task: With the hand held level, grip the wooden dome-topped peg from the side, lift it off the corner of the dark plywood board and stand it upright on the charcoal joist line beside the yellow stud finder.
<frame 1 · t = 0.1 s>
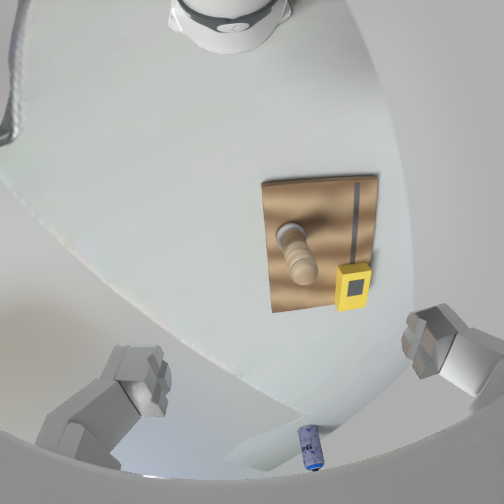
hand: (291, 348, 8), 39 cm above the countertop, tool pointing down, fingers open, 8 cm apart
aerosol can: (307, 428, 91), on the countertop
stud finder: (349, 282, 54), resting on plywood board
plywood board: (320, 246, 51), on the countertop
wooden dome-topped peg: (289, 235, 48), point 2 cm above the countertop, touching plywood board
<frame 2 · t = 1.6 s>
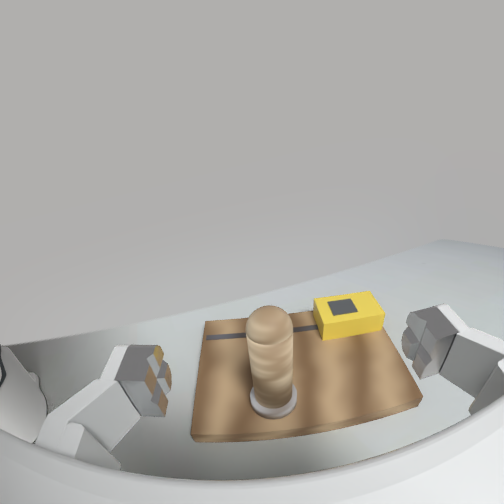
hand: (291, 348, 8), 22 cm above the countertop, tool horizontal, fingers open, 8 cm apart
stud finder: (346, 322, 39), resting on plywood board
plywood board: (300, 370, 34), on the countertop
wooden dome-topped peg: (273, 401, 28), point 2 cm above the countertop, touching plywood board
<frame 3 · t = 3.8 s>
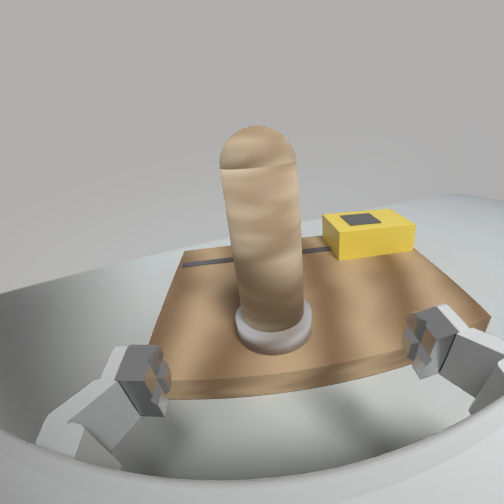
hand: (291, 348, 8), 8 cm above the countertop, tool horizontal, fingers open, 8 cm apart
stud finder: (367, 244, 30), resting on plywood board
plywood board: (312, 299, 25), on the countertop
wooden dome-topped peg: (274, 329, 19), point 2 cm above the countertop, touching plywood board
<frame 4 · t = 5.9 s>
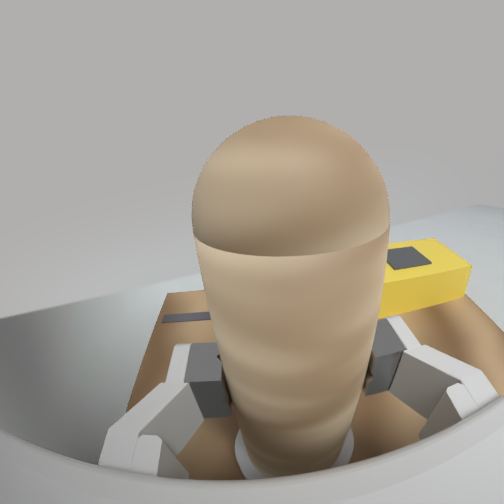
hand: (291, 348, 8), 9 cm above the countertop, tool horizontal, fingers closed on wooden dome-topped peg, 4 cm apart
stud finder: (408, 288, 21), resting on plywood board
plywood board: (341, 377, 16), on the countertop
wooden dome-topped peg: (294, 455, 10), point 2 cm above the countertop, touching gripper, plywood board
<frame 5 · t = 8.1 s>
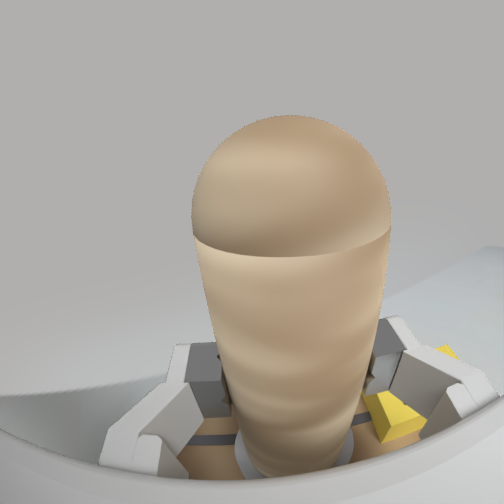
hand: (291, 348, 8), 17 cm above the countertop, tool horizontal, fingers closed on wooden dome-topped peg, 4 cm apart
stud finder: (414, 401, 19), resting on plywood board
plywood board: (343, 493, 14), on the countertop
wooden dome-topped peg: (294, 455, 10), point 10 cm above the countertop, touching gripper
when the fingers open (10 cm above the countertop, at t = 10.2 s): wooden dome-topped peg drops 1 cm, resting on plywood board.
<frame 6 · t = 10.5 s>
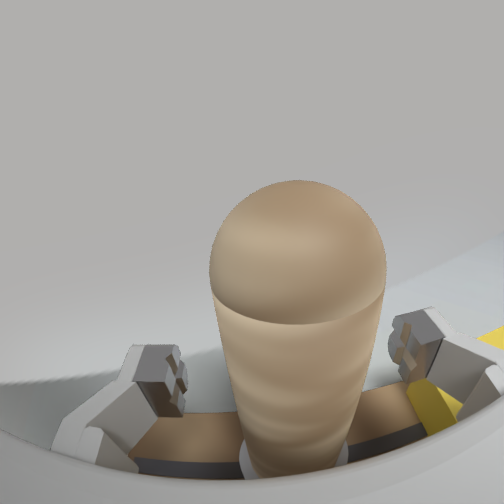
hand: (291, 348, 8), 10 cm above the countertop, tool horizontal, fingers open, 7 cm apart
stud finder: (478, 402, 11), resting on plywood board
wooden dome-topped peg: (293, 464, 11), point 2 cm above the countertop, touching plywood board
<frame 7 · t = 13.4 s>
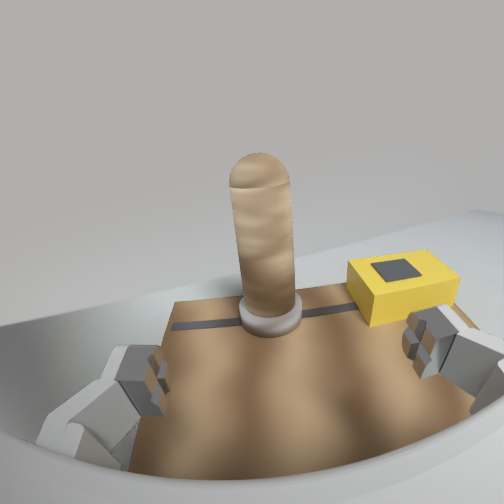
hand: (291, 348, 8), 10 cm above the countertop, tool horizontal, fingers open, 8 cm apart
stud finder: (400, 297, 23), resting on plywood board
plywood board: (335, 380, 18), on the countertop
wooden dome-topped peg: (271, 317, 23), point 2 cm above the countertop, touching plywood board
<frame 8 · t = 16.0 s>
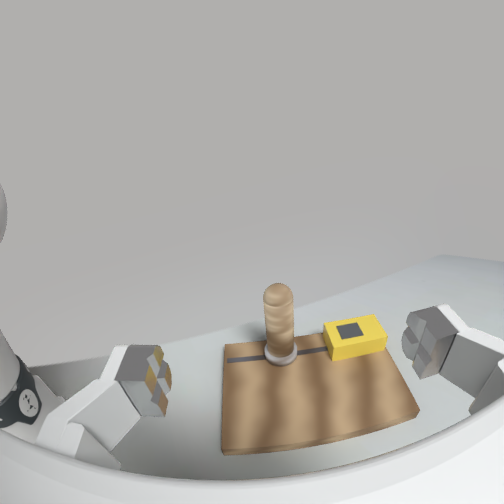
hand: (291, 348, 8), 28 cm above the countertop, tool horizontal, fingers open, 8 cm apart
stud finder: (353, 343, 42), resting on plywood board
plywood board: (313, 387, 37), on the countertop
wooden dome-topped peg: (281, 355, 42), point 2 cm above the countertop, touching plywood board
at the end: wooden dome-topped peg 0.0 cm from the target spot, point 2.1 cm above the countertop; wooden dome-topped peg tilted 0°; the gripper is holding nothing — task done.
